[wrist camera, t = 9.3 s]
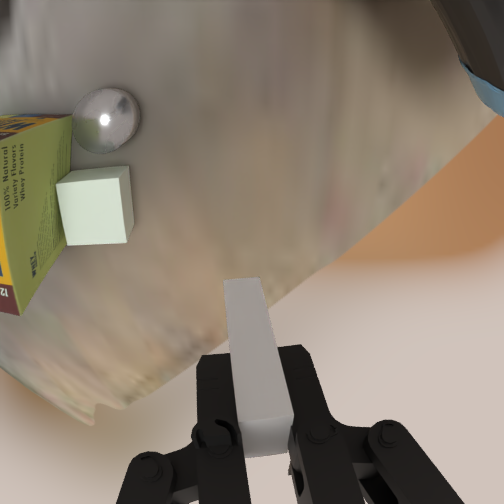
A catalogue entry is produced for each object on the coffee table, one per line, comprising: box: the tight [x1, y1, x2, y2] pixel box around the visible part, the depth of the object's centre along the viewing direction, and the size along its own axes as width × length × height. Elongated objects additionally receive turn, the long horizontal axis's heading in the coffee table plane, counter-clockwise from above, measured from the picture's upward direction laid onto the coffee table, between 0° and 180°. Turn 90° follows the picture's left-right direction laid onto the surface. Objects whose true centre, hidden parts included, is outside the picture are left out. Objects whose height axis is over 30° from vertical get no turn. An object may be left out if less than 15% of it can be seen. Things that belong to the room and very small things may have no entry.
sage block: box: [56, 165, 135, 246], centre depth 32 cm, size 7×7×5 cm
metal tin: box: [72, 88, 140, 154], centre depth 28 cm, size 6×6×4 cm
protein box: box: [0, 114, 72, 316], centre depth 24 cm, size 10×15×16 cm
